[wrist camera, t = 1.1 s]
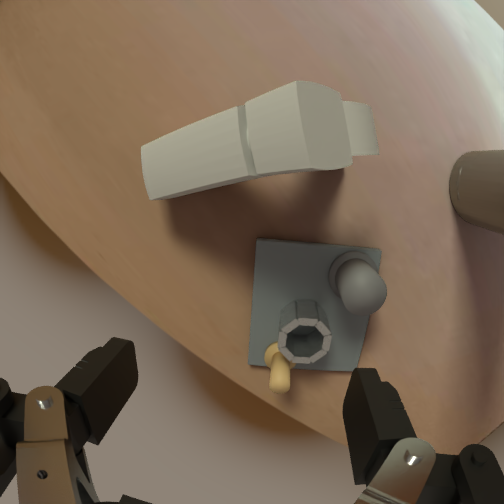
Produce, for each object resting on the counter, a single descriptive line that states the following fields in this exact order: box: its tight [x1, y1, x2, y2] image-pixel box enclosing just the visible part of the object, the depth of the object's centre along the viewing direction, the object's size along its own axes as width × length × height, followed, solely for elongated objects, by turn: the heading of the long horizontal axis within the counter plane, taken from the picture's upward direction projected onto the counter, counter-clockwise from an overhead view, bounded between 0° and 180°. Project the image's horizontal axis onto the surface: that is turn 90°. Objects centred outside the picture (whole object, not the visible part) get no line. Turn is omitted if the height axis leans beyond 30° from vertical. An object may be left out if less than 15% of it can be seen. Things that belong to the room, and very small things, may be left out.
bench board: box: [248, 238, 387, 394], centre depth 32 cm, size 14×16×8 cm
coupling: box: [277, 298, 332, 364], centre depth 33 cm, size 5×5×5 cm
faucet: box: [141, 81, 379, 200], centre depth 28 cm, size 6×16×20 cm
